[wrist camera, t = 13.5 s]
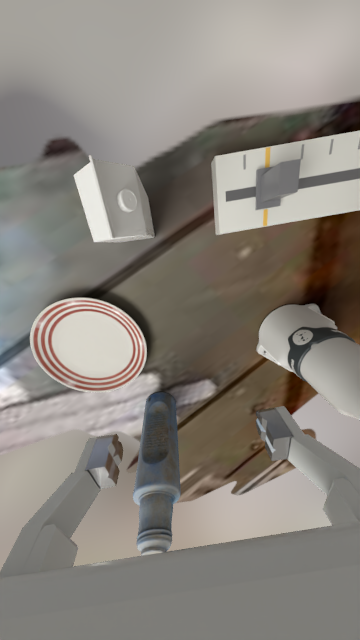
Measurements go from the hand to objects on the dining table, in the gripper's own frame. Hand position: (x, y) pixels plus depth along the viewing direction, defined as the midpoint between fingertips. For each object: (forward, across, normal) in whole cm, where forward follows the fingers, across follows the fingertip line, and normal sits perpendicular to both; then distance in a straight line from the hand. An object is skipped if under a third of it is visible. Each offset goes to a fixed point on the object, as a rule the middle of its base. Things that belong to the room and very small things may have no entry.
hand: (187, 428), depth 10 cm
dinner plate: (+34, +23, +12) cm, 43 cm away
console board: (+34, -26, -16) cm, 46 cm away
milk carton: (+34, +5, -15) cm, 38 cm away
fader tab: (+31, -20, -16) cm, 40 cm away
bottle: (+34, +10, +36) cm, 51 cm away
